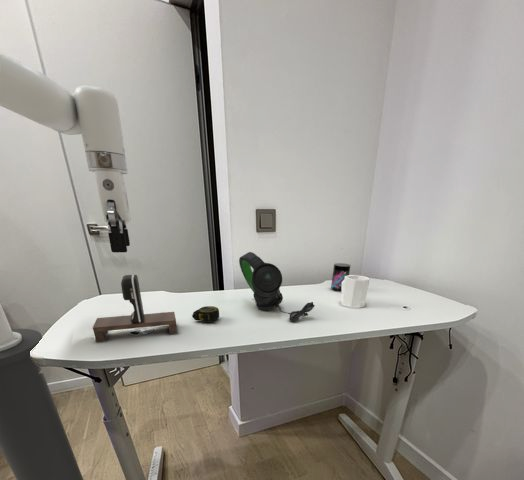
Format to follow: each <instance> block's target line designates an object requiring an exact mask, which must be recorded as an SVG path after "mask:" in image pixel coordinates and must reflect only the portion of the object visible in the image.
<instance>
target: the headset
mask: <svg viewBox="0 0 524 480" xmlns="http://www.w3.org/2000/svg"><path fill="white" fill-rule="evenodd" d="M238 265H239V268H240V271H241V273H242V276H243V277H244V279H245V282H246V283H247V285H248V286H249V288H250V290H251V291H252V292H253V295H252V296H253V299H254V302H255V306H256V308H257V309H258V310H260V311H269V310H272V309H274V308H275V309H277V308H278V309H279V312H280V313H283V314H287V315H289V317H288V321H290V322H297V321H298V320H299V319H300V318H303V317H308V316H309V314H308V313H309V312H311V311H312V310H313V309H314V308H315V304H314V302H313V301H311V302H307V303H306V304H305V305H304V306H303V307H302V309H300V310H294V311H291V312H287V311H283V310H281V307H280V304H281V303H282V302H283V300H284V296H283V294H282V292H281V290H280V288H281V286H282V284H283V274H282V272H281V270H280V269H279V267H277V266H276V265H274V264H273V263H270V262H264V260H263V259H262V258H261V257H260V256H258V255H257V254H256V253H255V252H252V251H249V252H248V251H247V253H245V254H243V255H242V256H240V257H239V258H238Z"/></svg>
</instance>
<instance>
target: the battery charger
mask: <svg viewBox="0 0 524 480" xmlns="http://www.w3.org/2000/svg"><path fill="white" fill-rule="evenodd" d="M120 286H121V293H122V299H123V300H124V301H129V303H130V304H131V305H132V306H133V311H132V313H131V314H130V315H131V322H143V320H144V314H145V312H144V311H145V310H144V305H143V300H142V293H141V290H140V289H141V288H140V282H139V277H138V275H137V274H125V275H123V276H122V278H121V282H120Z"/></svg>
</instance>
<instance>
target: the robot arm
mask: <svg viewBox="0 0 524 480" xmlns="http://www.w3.org/2000/svg"><path fill="white" fill-rule="evenodd" d="M0 107H2V108H3V109H6V110H9V111H11V112H13V113H15V114H18V115H19V116H22V117H24V118H26V119H28V120H30V121H33V122H35V123H38V124H39V125H42V126H45V127H47V128H48V129H52V130H53V131H55V132H58V133H60V134H64V135H67V136H77V135H81V138H82V143H83V148H84V154H85V157H86V163H87V169H88V171H89V172H92V173H94V174H95V181H96V186H97V192H98V198H99V202H100V208H101V212H102V217H103V220H104V222H106V223H107V231H108V232H107V234H108V238H109V246H110V251H111V252H112V253H127V252H128V247H129V246H131V243H130V235H129V230H128V228H127V227H128V226H127V224H128V223H130V221H131V219H132V218H131V212H130V206H129V200H128V195H127V188H126V183H125V179H124V175H128V174H129V172H128V165H127V158H126V152H125V151H126V150H125V146H124V144H125V143H124V137H123V129H122V125H121V124H122V123H121V117H120V110H119V109H120V108H119V103H118V100H117V98H116V96H115V95H114V93H112V92H111V91H110V90H108V89H106V88H104V87H100V86H97V85H89V84H88V85H87V84H83V85H78V86H77V87H76V88H75V89H74V91H71V90H69V89H67V88H65V87H63V86H61V84H59V83H58V82H56V81H55V80H53V79H52V78H50V77H49V76H47V75H46V74H44V73H43V72H41V71H40V70H37V69H35V68H33V67H31V66H30V65H27V64H25V63H23V62H21V61H20V60H17V59H15V58H13V57H11V56H9V55H7V54H5V53H3V52H1V51H0ZM11 329H12V328H11V325H10V323H9V320H8V318H7V315H6V312H5V311H4V309H3V306H2V303H1V302H0V352H1V351H4V350H7V349H10V348H12V347H14V346H16V345H18V344H19V343H20V342H21V341H22V336H21V334H19V333H17V332H12V330H11Z"/></svg>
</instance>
